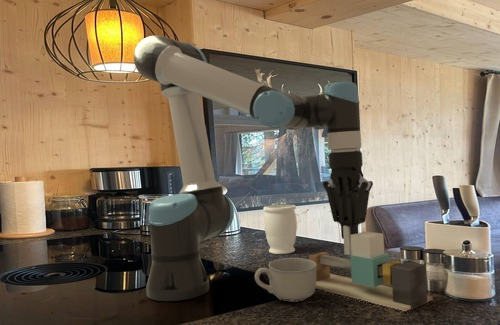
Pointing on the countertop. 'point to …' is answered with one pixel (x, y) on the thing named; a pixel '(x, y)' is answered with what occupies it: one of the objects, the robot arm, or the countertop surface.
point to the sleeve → (367, 258)
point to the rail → (394, 273)
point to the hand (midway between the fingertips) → (351, 253)
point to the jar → (280, 228)
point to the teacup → (290, 278)
